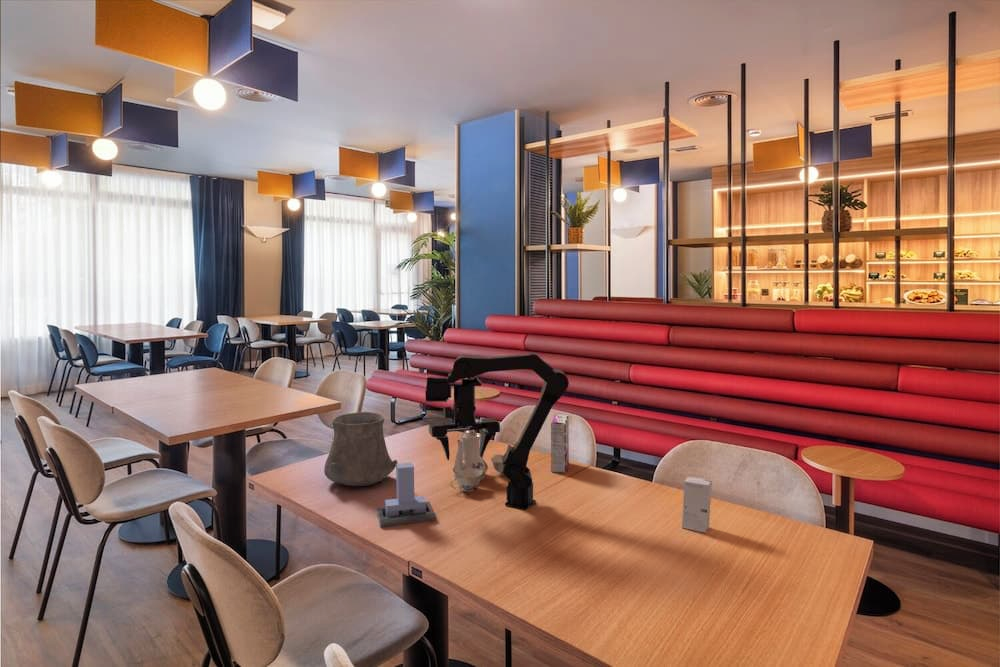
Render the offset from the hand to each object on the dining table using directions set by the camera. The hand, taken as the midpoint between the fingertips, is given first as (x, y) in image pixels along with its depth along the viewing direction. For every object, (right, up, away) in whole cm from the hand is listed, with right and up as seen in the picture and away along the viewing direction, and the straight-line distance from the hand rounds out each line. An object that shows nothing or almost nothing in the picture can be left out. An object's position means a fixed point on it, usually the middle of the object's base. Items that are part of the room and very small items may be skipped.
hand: (464, 458), depth 162 cm
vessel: (-32, -11, +19) cm, 39 cm away
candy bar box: (+29, -10, +33) cm, 45 cm away
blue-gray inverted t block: (-15, -14, -8) cm, 22 cm away
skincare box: (+59, -15, -14) cm, 62 cm away
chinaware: (+3, -11, +22) cm, 25 cm away
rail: (-15, -14, -8) cm, 22 cm away
